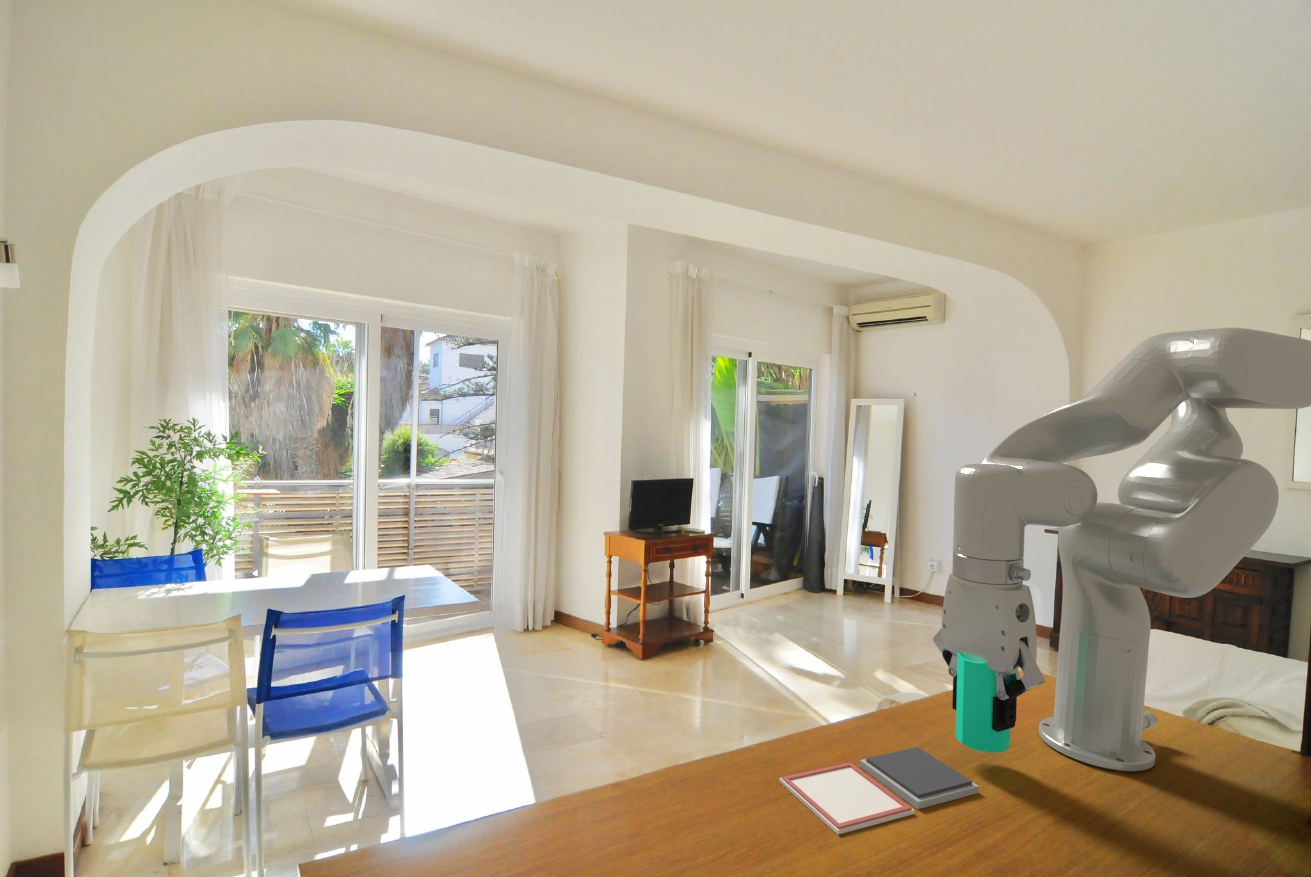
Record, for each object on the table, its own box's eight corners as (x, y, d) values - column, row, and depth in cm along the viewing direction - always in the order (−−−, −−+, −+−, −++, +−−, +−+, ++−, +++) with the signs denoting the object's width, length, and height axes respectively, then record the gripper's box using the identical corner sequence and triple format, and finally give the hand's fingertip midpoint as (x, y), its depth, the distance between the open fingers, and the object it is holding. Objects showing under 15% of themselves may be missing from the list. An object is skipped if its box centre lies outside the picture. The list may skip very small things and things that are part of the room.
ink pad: (916, 753, 84) (917, 744, 84) (978, 793, 75) (979, 782, 75) (859, 766, 80) (860, 756, 80) (917, 809, 72) (918, 798, 72)
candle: (1017, 755, 78) (1020, 653, 77) (961, 750, 79) (964, 649, 78) (1001, 729, 84) (1004, 635, 83) (950, 725, 85) (952, 631, 84)
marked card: (849, 765, 80) (850, 761, 80) (914, 813, 71) (914, 808, 71) (779, 781, 76) (779, 776, 76) (837, 834, 67) (838, 828, 67)
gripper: (1078, 583, 74) (1072, 744, 75) (952, 550, 89) (948, 685, 91) (1031, 591, 71) (1025, 759, 72) (909, 556, 86) (906, 695, 88)
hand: (982, 716), depth 81 cm, fingers closed on candle, 4 cm apart
